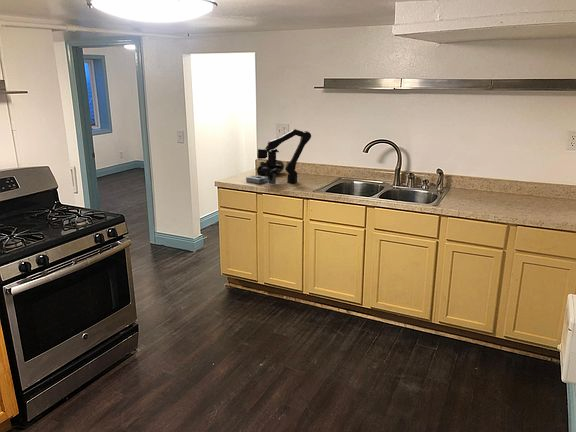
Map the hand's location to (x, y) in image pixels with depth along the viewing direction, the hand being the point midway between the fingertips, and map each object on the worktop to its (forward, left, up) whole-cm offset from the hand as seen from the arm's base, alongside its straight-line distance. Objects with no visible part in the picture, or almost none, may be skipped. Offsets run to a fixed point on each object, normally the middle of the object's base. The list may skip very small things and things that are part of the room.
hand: (272, 180), depth 340 cm
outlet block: (+12, +3, -3) cm, 12 cm away
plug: (0, 0, -2) cm, 2 cm away
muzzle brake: (+20, -24, -3) cm, 31 cm away
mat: (0, 0, -3) cm, 3 cm away
